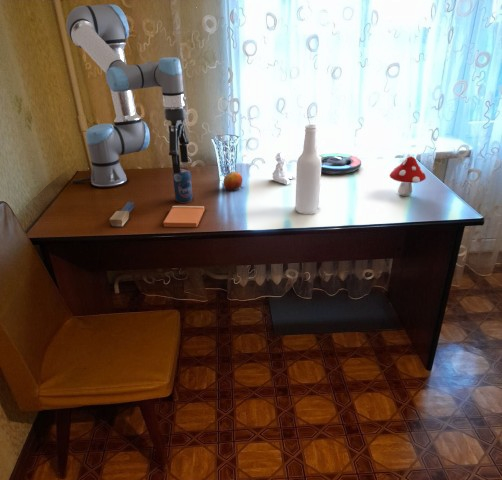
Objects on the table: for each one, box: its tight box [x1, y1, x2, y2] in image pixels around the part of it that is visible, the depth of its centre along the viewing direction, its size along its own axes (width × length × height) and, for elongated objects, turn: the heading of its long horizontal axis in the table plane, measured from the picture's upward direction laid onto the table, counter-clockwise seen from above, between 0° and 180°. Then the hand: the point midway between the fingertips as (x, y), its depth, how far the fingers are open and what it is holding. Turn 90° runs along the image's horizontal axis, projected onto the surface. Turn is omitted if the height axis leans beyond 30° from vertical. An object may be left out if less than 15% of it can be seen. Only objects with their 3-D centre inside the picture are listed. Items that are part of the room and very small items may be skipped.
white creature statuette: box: [271, 151, 294, 185], centre depth 205 cm, size 10×9×12 cm
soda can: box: [172, 167, 194, 204], centre depth 189 cm, size 7×7×12 cm
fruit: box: [223, 171, 243, 192], centre depth 200 cm, size 8×8×8 cm
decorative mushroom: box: [389, 156, 427, 197], centre depth 188 cm, size 14×14×15 cm
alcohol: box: [295, 124, 322, 215], centre depth 173 cm, size 9×9×30 cm
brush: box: [109, 201, 135, 227], centre depth 179 cm, size 5×18×3 cm, turn 174°
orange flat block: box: [162, 205, 205, 228], centre depth 177 cm, size 12×16×2 cm
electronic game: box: [318, 153, 362, 175], centre depth 221 cm, size 23×23×5 cm
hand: (181, 167), depth 184 cm, fingers open, 13 cm apart
